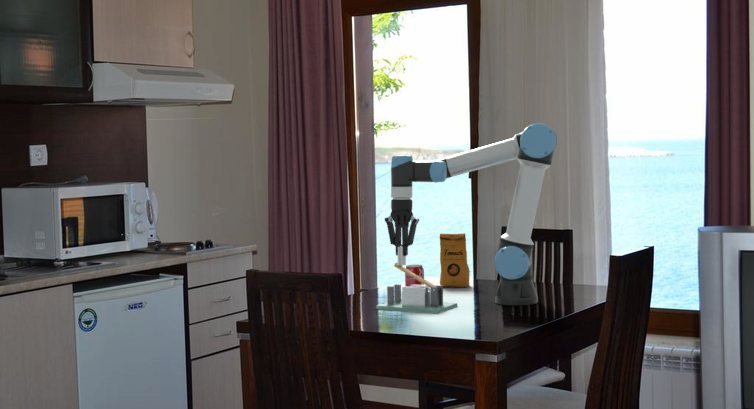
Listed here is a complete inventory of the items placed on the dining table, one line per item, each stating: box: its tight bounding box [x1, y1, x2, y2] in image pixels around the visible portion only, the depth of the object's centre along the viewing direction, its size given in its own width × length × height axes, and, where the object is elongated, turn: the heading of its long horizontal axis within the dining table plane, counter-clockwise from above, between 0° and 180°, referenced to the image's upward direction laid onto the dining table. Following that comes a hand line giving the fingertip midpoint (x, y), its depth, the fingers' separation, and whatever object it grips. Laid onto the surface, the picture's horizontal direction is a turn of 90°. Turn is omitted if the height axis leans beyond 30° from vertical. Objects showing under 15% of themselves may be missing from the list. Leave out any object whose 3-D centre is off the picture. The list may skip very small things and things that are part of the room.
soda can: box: [404, 264, 425, 287], centre depth 346 cm, size 7×7×13 cm
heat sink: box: [401, 284, 436, 307], centre depth 328 cm, size 9×9×6 cm
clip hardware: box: [386, 283, 444, 307], centre depth 328 cm, size 19×7×8 cm, turn 60°
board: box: [375, 299, 458, 314], centre depth 328 cm, size 24×16×1 cm, turn 60°
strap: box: [393, 262, 436, 288], centre depth 328 cm, size 17×2×1 cm, turn 60°
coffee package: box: [439, 232, 471, 288], centre depth 381 cm, size 10×12×22 cm
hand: (401, 264), depth 330 cm, fingers closed
